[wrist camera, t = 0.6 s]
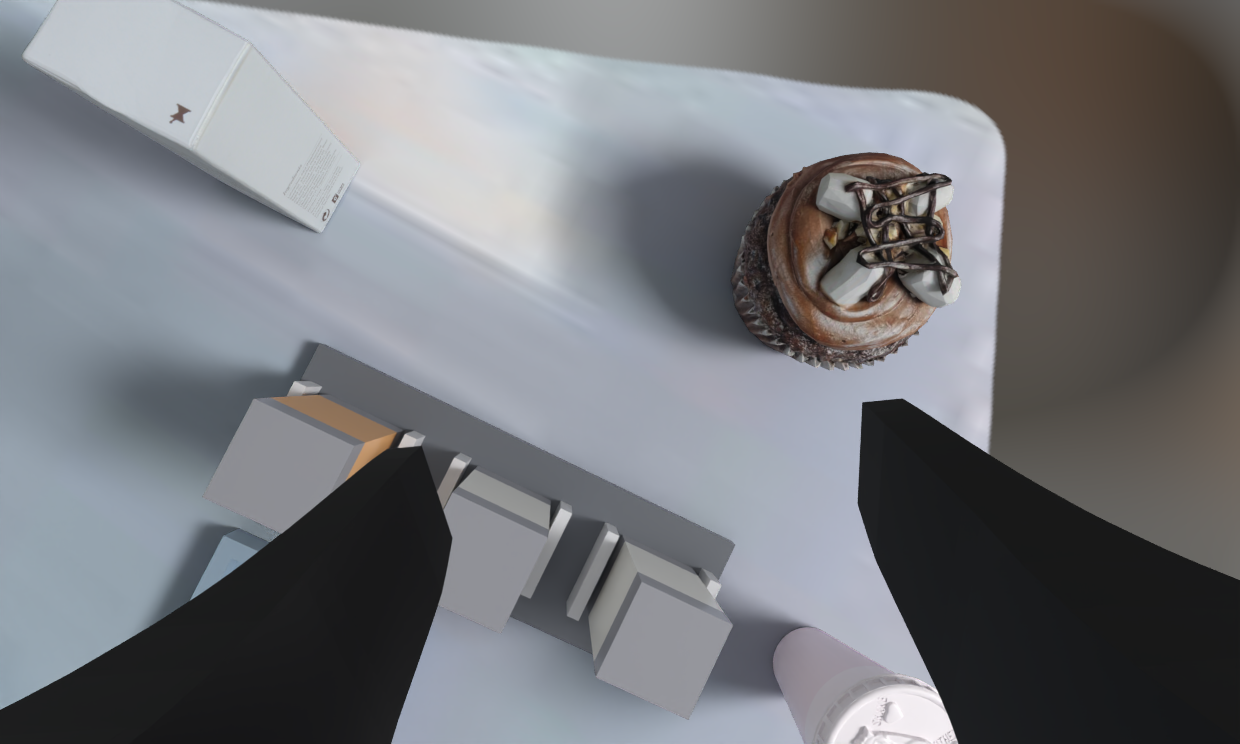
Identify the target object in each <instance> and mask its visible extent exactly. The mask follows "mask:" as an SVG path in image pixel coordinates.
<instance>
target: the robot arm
mask: <svg viewBox="0 0 1240 744" xmlns="http://www.w3.org/2000/svg"><path fill="white" fill-rule="evenodd" d="M858 506H859V510H860V513H861V516H862V519H863V523H864V526H865V529H866V532H867V535H868V538H869V541H870V544H871V547H872V550H873V553H874V556H875V559H876V562H877V564H878V566H879V568H880V570H881V573H882V575H883V577H884V579H885V581H886V583H887V585H888V588H889V590H890V592H891V594H892V596H893V598H894V600H895V603H896V605H897V607H898V609H899V611H900V613H901V615H902V617H903V619H904V621H905V624H906V626H907V628H908V630H909V632H910V634H911V636H912V638H913V640H914V642H915V645H916V647H917V649H918V651H919V653H920V655H921V657H922V659H923V661H924V663H925V666H926V668H927V670H928V672H929V674H930V676H931V678H932V680H933V682H934V684H935V687H936V689H937V691H938V693H939V696H940V698H941V700H942V703H943V705H944V707H945V710H946V712H947V715H948V717H949V719H950V722H951V725H952V728H953V730H954V733H955V736H956V739H957V741H958V744H1240V580H1238V579H1235V578H1233V577H1230V576H1228V575H1225V574H1223V573H1220V572H1218V571H1216V570H1213V569H1211V568H1208V567H1206V566H1203V565H1200V564H1198V563H1196V562H1193V561H1191V560H1189V559H1187V558H1184V557H1182V556H1180V555H1177V554H1175V553H1173V552H1171V551H1168V550H1166V549H1164V548H1162V547H1159V546H1157V545H1155V544H1153V543H1151V542H1149V541H1147V540H1144V539H1143V538H1140V537H1138V536H1136V535H1134V534H1132V533H1130V532H1128V531H1126V530H1124V529H1122V528H1119V527H1117V526H1115V525H1113V524H1111V523H1109V522H1107V521H1105V520H1103V519H1101V518H1099V517H1097V516H1095V515H1093V514H1091V513H1089V512H1087V511H1085V510H1083V509H1082V508H1080V507H1078V506H1076V505H1074V504H1072V503H1070V502H1069V501H1067V500H1065V499H1064V498H1062V497H1060V496H1058V495H1056V494H1055V493H1053V492H1051V491H1049V490H1047V489H1045V488H1044V487H1042V486H1040V485H1038V484H1037V483H1035V482H1033V481H1032V480H1030V479H1028V478H1026V477H1025V476H1023V475H1021V474H1020V473H1018V472H1016V471H1015V470H1013V469H1011V468H1010V467H1008V466H1007V465H1005V464H1003V463H1002V462H1000V461H998V460H997V459H995V458H994V457H992V456H991V455H989V454H987V453H986V452H984V451H983V450H981V449H980V448H978V447H976V446H975V445H973V444H972V443H970V442H969V441H967V440H966V439H964V438H963V437H961V436H960V435H958V434H957V433H955V432H953V431H952V430H950V429H949V428H947V427H946V426H944V425H943V424H941V423H940V422H938V421H937V420H935V419H934V418H932V417H931V416H929V415H928V414H926V413H925V412H923V411H922V410H920V409H919V408H917V407H915V406H914V405H912V404H911V403H909V402H907V401H906V400H904V399H893V400H883V401H873V402H862V422H861V444H860V465H859V487H858ZM452 539H453V538H452V535H451V532H450V529H449V526H448V523H447V520H446V517H445V514H444V511H443V508H442V505H441V502H440V499H439V496H438V493H437V490H436V487H435V484H434V481H433V478H432V475H431V472H430V469H429V466H428V463H427V460H426V457H425V454H424V451H423V448H422V446H414V447H403V448H393V449H386V450H385V451H383V452H382V453H381V454H379V455H378V456H376V457H375V458H374V459H372V460H371V461H370V462H368V463H367V464H366V465H365V466H363V467H362V468H361V469H360V470H358V471H357V472H356V473H355V474H354V475H352V476H351V477H350V478H349V479H347V480H346V481H345V482H344V483H343V484H341V485H340V486H339V487H338V488H337V489H335V490H334V491H333V492H332V493H331V494H329V495H328V496H327V497H326V498H325V499H323V500H322V501H321V502H320V503H319V504H317V505H316V506H315V507H314V508H312V509H311V510H310V511H309V512H308V513H306V514H305V515H304V516H303V517H302V518H300V519H299V520H298V521H297V522H296V523H294V524H293V525H292V526H291V527H289V528H288V529H287V530H286V531H284V532H283V533H282V534H280V535H279V536H278V537H276V538H275V539H274V540H273V541H271V542H270V543H269V544H267V545H266V546H265V547H263V548H262V549H261V550H259V551H258V552H257V553H256V554H254V555H253V556H252V557H250V558H249V559H248V560H246V561H245V562H244V563H243V564H241V565H240V566H239V567H237V568H236V569H235V570H233V571H232V572H231V573H229V574H228V575H227V576H225V577H224V578H222V579H221V580H220V581H218V582H217V583H215V584H214V585H212V586H211V587H210V588H208V589H207V590H205V591H204V592H202V593H201V594H199V595H198V596H196V597H195V598H193V599H192V600H190V601H189V602H187V603H186V604H184V605H183V606H181V607H180V608H178V609H177V610H175V611H174V612H172V613H171V614H169V615H168V616H166V617H165V618H163V619H161V620H160V621H158V622H157V623H155V624H153V625H152V626H150V627H149V628H147V629H145V630H144V631H142V632H140V633H138V634H137V635H135V636H133V637H132V638H130V639H128V640H126V641H125V642H123V643H121V644H120V645H118V646H116V647H115V648H113V649H111V650H109V651H108V652H106V653H104V654H103V655H101V656H99V657H97V658H96V659H94V660H92V661H91V662H89V663H87V664H85V665H84V666H82V667H80V668H79V669H77V670H75V671H73V672H72V673H70V674H68V675H66V676H64V677H62V678H61V679H59V680H57V681H55V682H53V683H51V684H49V685H47V686H46V687H44V688H42V689H40V690H38V691H36V692H34V693H32V694H30V695H29V696H27V697H25V698H23V699H21V700H19V701H17V702H15V703H13V704H11V705H9V706H7V707H5V708H3V709H1V710H0V744H391V742H392V739H393V735H394V732H395V729H396V726H397V722H398V719H399V716H400V714H401V711H402V708H403V705H404V702H405V699H406V696H407V694H408V691H409V688H410V685H411V682H412V679H413V676H414V673H415V671H416V668H417V665H418V662H419V659H420V656H421V653H422V651H423V648H424V645H425V642H426V639H427V636H428V633H429V630H430V627H431V625H432V622H433V619H434V616H435V613H436V610H437V607H438V604H439V601H440V598H441V595H442V591H443V586H444V581H445V577H446V572H447V567H448V562H449V556H450V551H451V545H452Z"/></svg>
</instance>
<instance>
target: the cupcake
mask: <svg viewBox="0 0 1240 744" xmlns="http://www.w3.org/2000/svg"><path fill="white" fill-rule="evenodd" d="M951 182H952V180H951V179H950V178H948V177H947V176H946V175H942V174H937V173H933V174H928V173H926V172H924V173H922V172H921V171H920V170H919V169H918V168H916V167H915V166H913V165H912V164H910V163H909V162H907V161H905V160H904V159H902V158H899V157H895V156H892V155H888V154H885V153H871V152H868V153H859V154H850V155H844V156H839V157H835V158H831V159H827V160H824V161H820V162H818V163H815V164H813V165H811V166H808V167H803V169H802V171H800V172H797V173H793V176H792V177H791V178H790V179H788V180H784V181H783V182H782V184H781V186H780V187H778V186H776V187H775V188H774V189H773V191H772V192H771V194H770V195H769V196H767V197H766V198H765V200H764V201H763V203H762V204H761V206H760V208H759V210H755V212H754V215H753V217H752V220H751V222H749V224H748V226H747V228H746V230H745V231H746V234H745V235H743V236H742V240H741V245H740V248H739V249H738V253H737V257H736V259H735V263H734V268H733V272H732V277H731V283H732V285H733V287H734V288H733V297H734V302H735V306H736V309H737V311H738V313H739V315H740V316H741V318H742V320H743V321H744V323H745V325H746V326H747V328H748V330H749V331H750V332H752V333H753V334H754V335H755V336H756V337H757V338H759V339H760V340H761V341H762V342H763V343H764V344H765V345H767V346H769V347H771V348H773V349H775V350H776V351H779V352H782V353H784V354H786V355H788V356H790V357H792V358H794V359H796V360H797V361H799V362H800V363H802V362H806V363H807V364H809V365H812V366H814V367H816V368H818V366H819V365H820V366H821V367H823V368H825V369H828V370H834V367H837V368H839V369H841V370H844V371H846V370H848V369H849V366H851V367H854V368H857V369H861V368H863V367H862V365H861V364H862V363H863V364H865V365H868V366H872V365H874V360H877V361H883V362H884V360H885V357H886V356H887V355H888V354H889V353H891V354H897V351H898V347H900V346H908V338H909V337H911V336H912V335H919V332H918V329H919V328H921V327H922V326H923V325H924V324H925V323H926V322H927V320H928V319H929V318H930V316H931V315H932V313H933V312H934V311H935V309H936V307H937V308H941V307H944V306H947V305H950V304H952V303H954V302H955V301H956V299H957V298H958V295H959V292H960V288H961V279H960V278H959V276H958V274H957V272H956V271H955V270H953V268H952V266H951V254H952V234H951V228H950V222H949V216H948V211H947V209H946V206H947V205H948V204H949V203H950V202H951V200H952V198H953V190H954V187H953V186H952V185H951Z"/></svg>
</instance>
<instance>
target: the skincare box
mask: <svg viewBox="0 0 1240 744" xmlns="http://www.w3.org/2000/svg"><path fill="white" fill-rule="evenodd" d="M22 58H23V60H24V61H25V62H26V63H28V64H29V65H31V66H32V67H34V68H36V69H37V70H39V71H40V72H42V73H44V74H45V75H47V76H49V77H50V78H52V79H54V80H55V81H57V82H58V83H60V84H62V85H63V86H65V87H67V88H68V89H70V90H71V91H73V92H75V93H76V94H78V95H79V96H81V97H83V98H84V99H86V100H88V101H89V102H91V103H92V104H94V105H96V106H97V107H99V108H101V109H102V110H104V111H106V112H107V113H109V114H110V115H112V116H114V117H115V118H117V119H119V120H120V121H122V122H124V123H125V124H127V125H129V126H130V127H132V128H134V129H135V130H137V131H139V132H140V133H142V134H143V135H145V136H147V137H149V138H150V139H152V140H154V141H155V142H157V143H159V144H160V145H162V146H163V147H165V148H167V149H168V150H170V151H172V152H173V153H175V154H177V155H178V156H180V157H181V158H183V159H185V160H186V161H188V162H190V163H191V164H193V165H195V166H196V167H198V168H199V169H201V170H203V171H204V172H206V173H208V174H209V175H211V176H213V177H214V178H216V179H218V180H220V181H221V182H223V183H225V184H227V185H228V186H230V187H232V188H234V189H236V190H238V191H240V192H241V193H243V194H245V195H247V196H249V197H251V198H253V199H255V200H256V201H258V202H260V203H262V204H264V205H266V206H268V207H270V208H272V209H273V210H275V211H277V212H279V213H281V214H283V215H285V216H287V217H289V218H291V219H293V220H295V221H297V222H299V223H300V224H302V225H304V226H306V227H308V228H310V229H312V230H314V231H315V232H317V233H322V231H323V230H324V228H325V226H326V224H327V223H328V221H329V219H330V217H331V216H332V214H333V212H334V210H335V208H336V207H337V205H338V203H339V201H340V200H341V198H342V196H343V194H344V193H345V191H346V189H347V187H348V186H349V184H350V182H351V180H352V179H353V177H354V175H355V174H356V172H357V170H358V168H359V166H360V162H359V161H358V160H357V159H356V158H355V157H354V156H353V155H352V153H351V152H350V151H349V150H348V149H347V148H346V147H345V146H344V145H343V144H342V143H341V141H340V140H339V139H338V138H337V137H336V136H335V135H334V134H333V132H332V131H331V130H330V129H329V128H328V127H327V126H326V125H325V124H324V122H323V121H322V120H321V119H320V118H319V117H318V116H317V115H316V114H315V113H314V112H313V111H312V109H311V108H310V107H309V106H308V105H307V104H306V103H305V102H304V101H303V99H302V98H301V97H300V96H299V95H298V94H297V93H296V92H295V91H294V90H293V89H292V87H291V86H290V85H289V84H288V83H287V82H286V81H285V80H284V79H283V78H282V77H281V75H280V74H279V73H278V72H277V71H276V70H275V69H274V68H273V67H272V65H271V64H270V63H269V62H268V61H267V60H266V59H265V58H264V57H263V55H262V54H261V53H260V52H259V51H258V50H257V49H256V48H255V47H254V46H253V45H252V43H251V42H249V41H248V40H246V39H245V38H243V37H241V36H239V35H237V34H236V33H234V32H232V31H230V30H228V29H227V28H225V27H223V26H221V25H220V24H218V23H216V22H215V21H213V20H211V19H209V18H207V17H205V16H204V15H202V14H200V13H198V12H196V11H194V10H192V9H191V8H189V7H187V6H185V5H183V4H181V3H179V2H177V1H175V0H57V1H56V2H55V4H54V6H53V7H52V9H51V11H50V12H49V14H48V15H47V17H46V18H45V20H44V22H43V23H42V25H41V26H40V28H39V29H38V31H37V32H36V34H35V35H34V37H33V39H32V40H31V42H30V43H29V44H28V46H27V47H26V49H25V50H24V52H23V53H22Z"/></svg>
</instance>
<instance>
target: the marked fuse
mask: <svg viewBox="0 0 1240 744" xmlns="http://www.w3.org/2000/svg"><path fill="white" fill-rule="evenodd" d="M403 432H404V430H402V429H400V428H398V427H396V426H394V425H392V424H390V423H388V422H386V421H384V420H382V419H379V418H377V417H375V416H373V415H371V414H369V413H367V412H365V411H363V410H361V409H358V408H356V407H354V406H352V405H350V404H348V403H346V402H344V401H342V400H340V399H338V398H335V397H333V396H331V395H329V394H325V395H307V396H289V397H271V398H254V399H253V401H252V403H251V405H250V407H249V409H248V410H247V412H246V414H245V416H244V418H243V420H242V422H241V424H240V426H239V428H238V430H237V431H236V433H235V435H234V437H233V439H232V441H231V443H230V445H229V447H228V449H227V451H226V452H225V454H224V456H223V458H222V460H221V462H220V464H219V466H218V468H217V470H216V472H215V473H214V475H213V477H212V479H211V481H210V483H209V485H208V487H207V489H206V491H205V493H204V494H203V496H202V497H203V498H205V499H207V500H209V501H212V502H214V503H216V504H218V505H220V506H222V507H225V508H227V509H229V510H231V511H233V512H236V513H238V514H240V515H242V516H244V517H246V518H249V519H251V520H253V521H255V522H257V523H260V524H262V525H264V526H266V527H268V528H270V529H273V530H275V531H277V532H279V533H281V534H282V533H283V532H284V531H286V530H287V529H288V528H289V527H291V526H292V525H293V524H294V523H296V522H297V521H298V520H299V519H300V518H302V517H303V516H304V515H305V514H306V513H308V512H309V511H310V510H311V509H312V508H314V507H315V506H316V505H317V504H319V503H320V502H321V501H322V500H323V499H325V498H326V497H327V496H328V495H329V494H331V493H332V492H333V491H334V490H335V489H337V488H338V487H339V486H340V485H341V484H343V483H344V482H345V481H346V480H347V479H349V478H350V477H351V476H352V475H354V474H355V473H356V472H357V471H358V470H360V469H361V468H362V467H363V466H365V465H366V464H367V463H368V462H370V461H371V460H372V459H374V458H375V457H376V456H378V455H379V454H381V453H382V452H383V451H385V450H386V449H393V448H395V447H396V445H397V443H398V441H399V439H400V437H401V435H402V434H403Z"/></svg>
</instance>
